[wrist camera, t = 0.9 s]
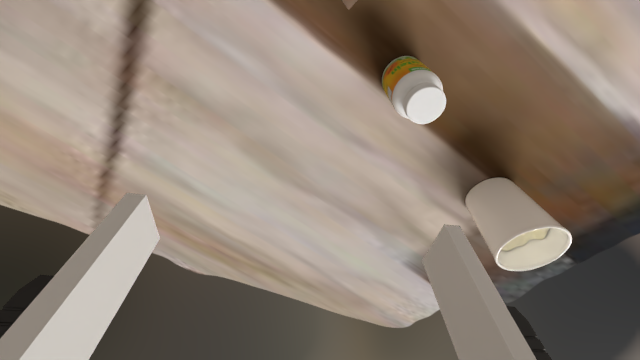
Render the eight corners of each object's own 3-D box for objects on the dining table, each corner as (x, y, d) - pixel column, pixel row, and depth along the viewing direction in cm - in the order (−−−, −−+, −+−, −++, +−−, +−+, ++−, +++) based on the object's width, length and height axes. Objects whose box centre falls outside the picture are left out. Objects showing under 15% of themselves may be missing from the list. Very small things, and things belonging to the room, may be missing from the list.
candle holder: (530, 190, 47) (585, 245, 37) (480, 222, 52) (518, 278, 42) (499, 163, 43) (550, 216, 34) (448, 200, 48) (481, 256, 38)
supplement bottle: (419, 47, 33) (451, 70, 25) (426, 88, 36) (456, 119, 28) (376, 65, 34) (394, 91, 26) (386, 103, 37) (405, 137, 29)
